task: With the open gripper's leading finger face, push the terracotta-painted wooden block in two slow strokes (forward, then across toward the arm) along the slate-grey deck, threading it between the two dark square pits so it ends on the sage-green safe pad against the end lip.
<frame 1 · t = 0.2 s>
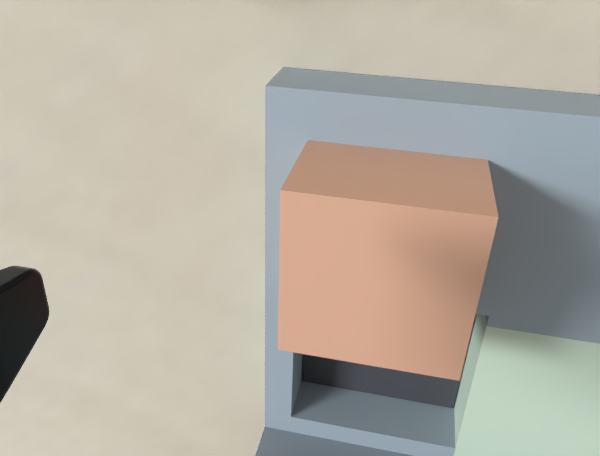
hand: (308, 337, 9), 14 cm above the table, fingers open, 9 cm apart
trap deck: (594, 309, 23), on the table
block: (385, 226, 21), point 2 cm above the table, touching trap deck
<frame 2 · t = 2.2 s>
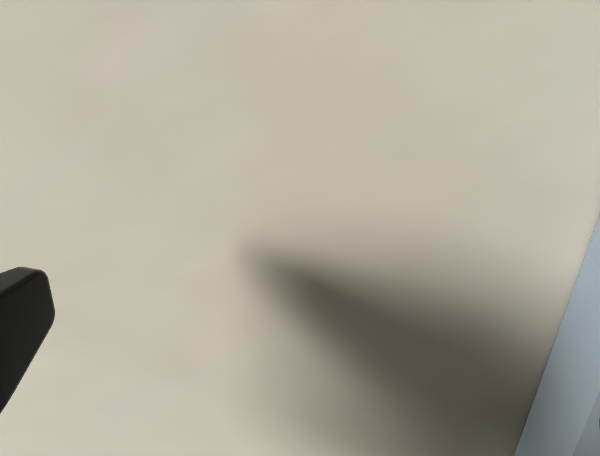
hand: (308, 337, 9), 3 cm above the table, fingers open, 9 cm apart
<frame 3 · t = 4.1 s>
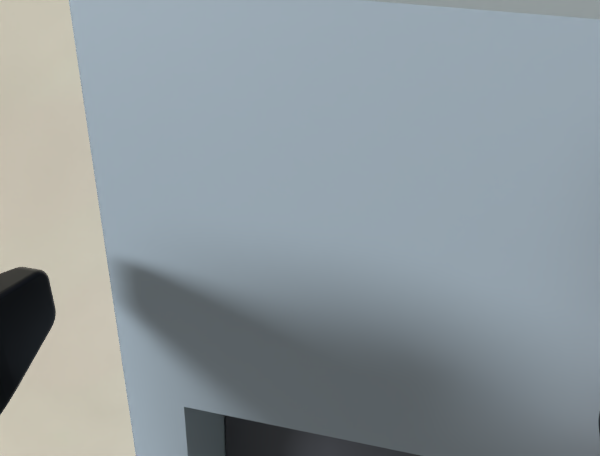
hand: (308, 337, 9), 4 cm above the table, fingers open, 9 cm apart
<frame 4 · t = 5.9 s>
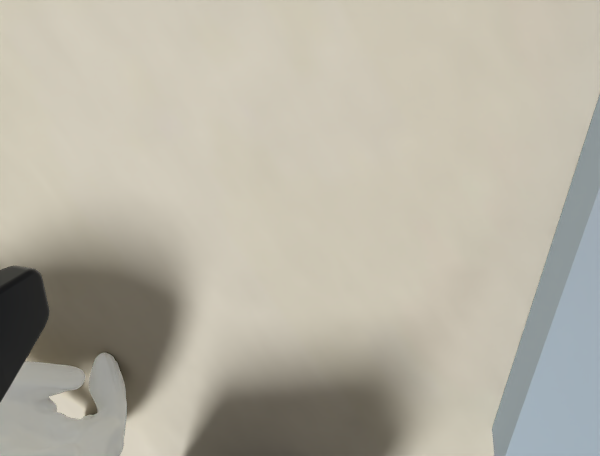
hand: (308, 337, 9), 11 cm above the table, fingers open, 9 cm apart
white animal figurine: (47, 362, 28), on the table
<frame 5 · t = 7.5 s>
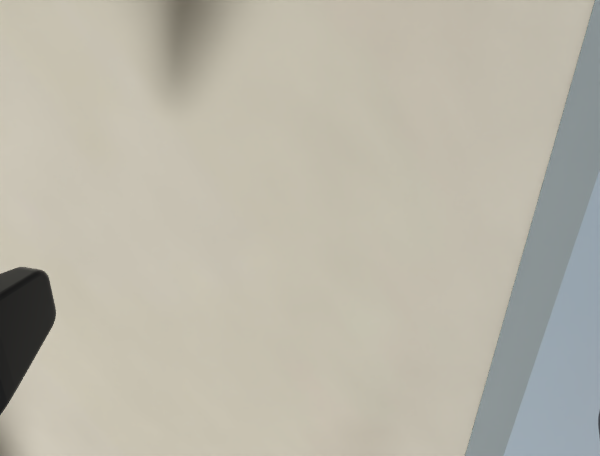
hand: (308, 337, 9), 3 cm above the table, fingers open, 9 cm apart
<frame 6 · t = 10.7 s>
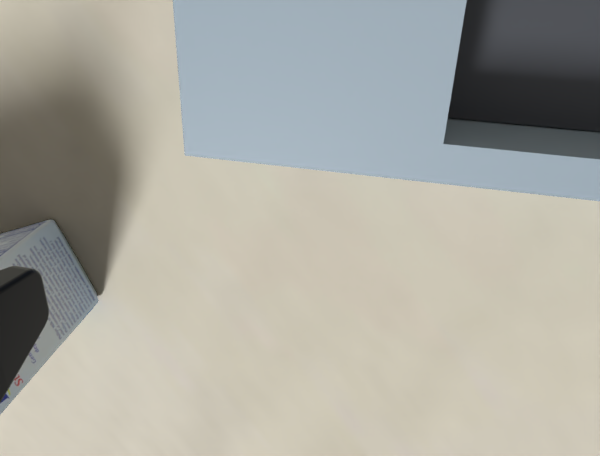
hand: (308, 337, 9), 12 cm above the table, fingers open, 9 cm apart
medicine box: (15, 271, 26), on the table
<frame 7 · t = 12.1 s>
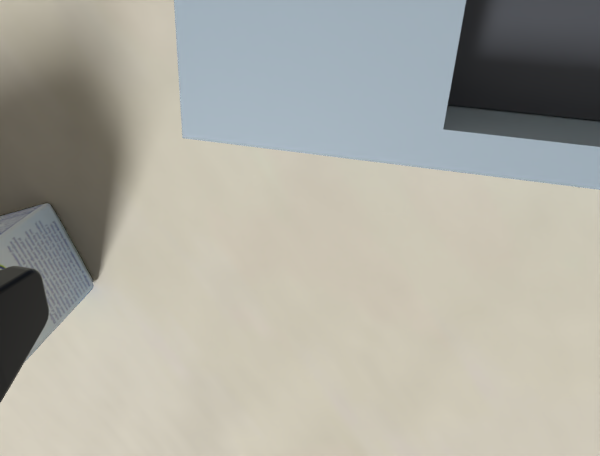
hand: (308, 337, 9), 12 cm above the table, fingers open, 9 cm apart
medicine box: (11, 255, 26), on the table
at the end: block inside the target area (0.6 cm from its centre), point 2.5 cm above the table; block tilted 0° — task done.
